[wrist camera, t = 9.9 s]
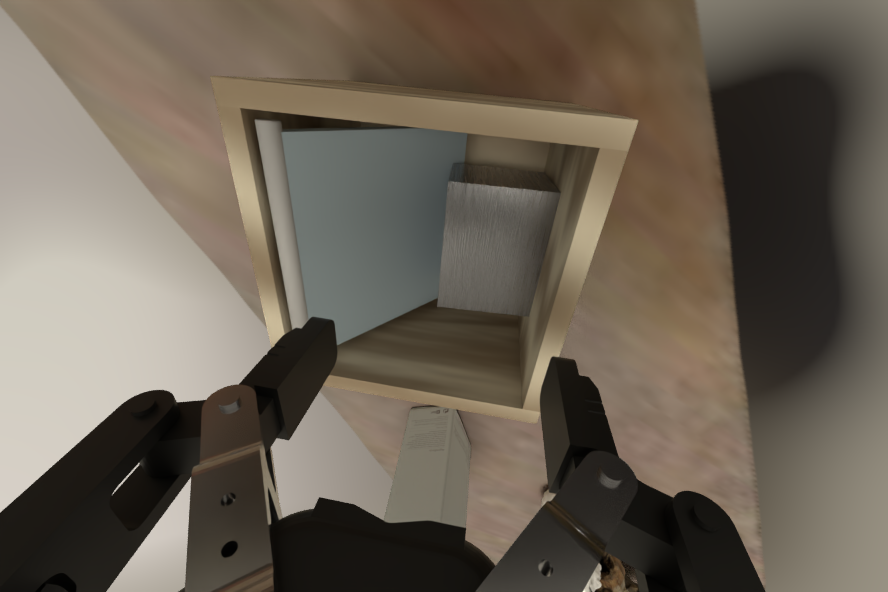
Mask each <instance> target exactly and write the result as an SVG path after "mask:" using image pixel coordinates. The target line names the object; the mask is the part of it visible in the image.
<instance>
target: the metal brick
mask: <svg viewBox="0 0 888 592" xmlns="http://www.w3.org/2000/svg"><path fill="white" fill-rule="evenodd" d="M560 195H561V192H560V191H559V190H558V188H557V187H556V186H555V185H554V183H553V182H552V181H551V180H550V178H549V177H548V176H547V175H546V173H545V172H536V171H526V170H516V169H507V168H497V167H487V166H477V165H468V164H458V163H453V165H452V168H451V172H450V176H449V180H448V189H447V200H446V212H445V223H444V234H443V246H442V257H441V269H440V280H439V291H438V303H437V307H445V308H454V309H463V310H472V311H481V312H491V313H500V314H509V315H518V316H527V317H529V315H530V311H531V308H532V304H533V300H534V296H535V292H536V288H537V284H538V280H539V277H540V273H541V269H542V265H543V261H544V257H545V253H546V249H547V246H548V242H549V238H550V234H551V230H552V226H553V222H554V218H555V215H556V211H557V207H558V203H559V199H560Z"/></svg>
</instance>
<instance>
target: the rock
mask: <svg viewBox="0 0 888 592" xmlns="http://www.w3.org/2000/svg"><path fill="white" fill-rule="evenodd" d="M599 563H600V565H601V571H600V572H601V575H600V577H601V579H600V582H601V584H602V586H601V587H600V588H598V589H596V590H595V592H639V587H638V584H637V583H635V582H633V581H631V579H630V578H629V577H628V576H627V575H626V574H625V569H624V567H623V566H622V562H621V560H619V559H617V558H616V557H614V556H612V555H610V554H608V553H607V552H604V554H603V556H602V558H601V560H600V562H599Z"/></svg>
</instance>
